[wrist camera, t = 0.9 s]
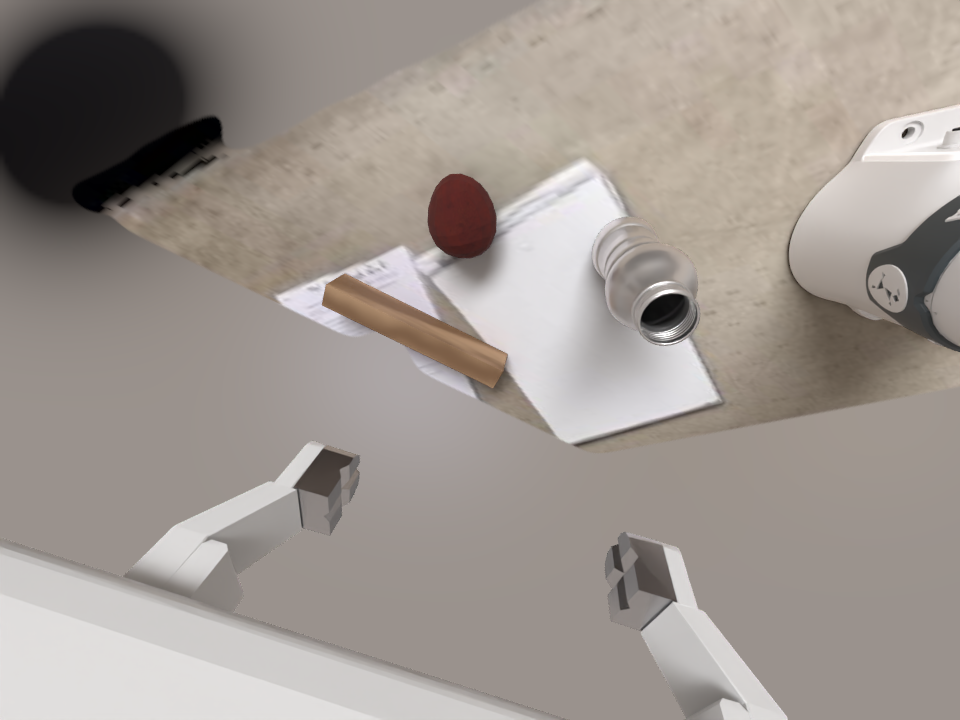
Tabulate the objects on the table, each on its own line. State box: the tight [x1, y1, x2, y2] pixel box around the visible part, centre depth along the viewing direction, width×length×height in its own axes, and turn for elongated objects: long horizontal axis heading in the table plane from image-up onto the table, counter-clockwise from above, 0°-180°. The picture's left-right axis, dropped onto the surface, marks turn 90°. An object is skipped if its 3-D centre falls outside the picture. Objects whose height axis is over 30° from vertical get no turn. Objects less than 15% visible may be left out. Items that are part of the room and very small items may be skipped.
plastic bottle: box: [592, 217, 700, 346], centre depth 31 cm, size 6×7×20 cm
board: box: [322, 274, 507, 388], centre depth 47 cm, size 3×24×4 cm, turn 65°
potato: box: [428, 174, 496, 258], centre depth 37 cm, size 7×8×7 cm
